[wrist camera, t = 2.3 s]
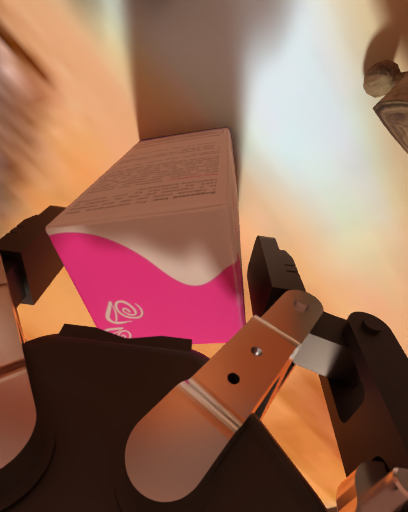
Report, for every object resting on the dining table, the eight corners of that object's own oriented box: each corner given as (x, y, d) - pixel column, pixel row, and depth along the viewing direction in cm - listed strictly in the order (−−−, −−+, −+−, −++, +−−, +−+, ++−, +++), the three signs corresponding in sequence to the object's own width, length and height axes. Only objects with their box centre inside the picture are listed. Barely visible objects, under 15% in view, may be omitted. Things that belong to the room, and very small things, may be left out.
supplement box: (135, 140, 18) (35, 224, 8) (230, 124, 17) (243, 197, 7) (157, 223, 21) (104, 355, 11) (239, 213, 20) (256, 345, 11)
